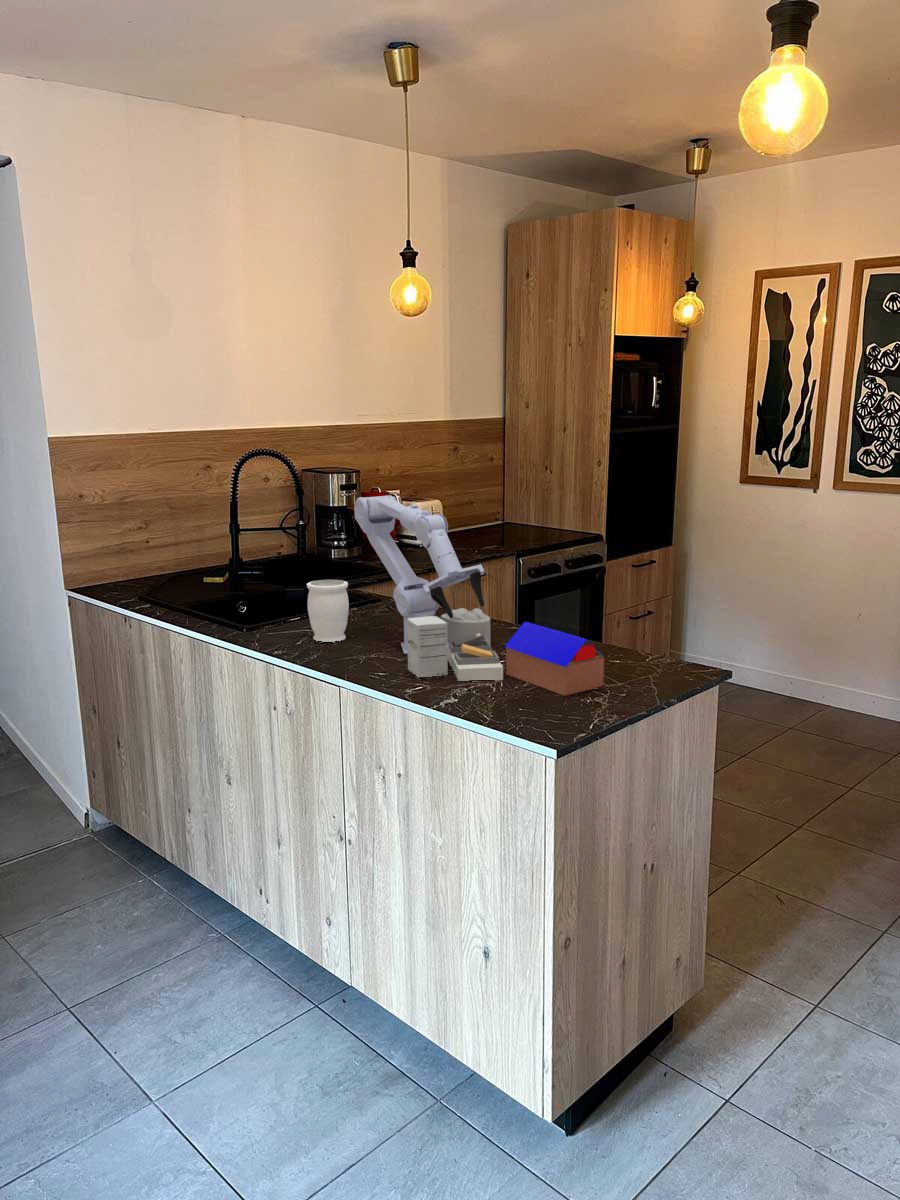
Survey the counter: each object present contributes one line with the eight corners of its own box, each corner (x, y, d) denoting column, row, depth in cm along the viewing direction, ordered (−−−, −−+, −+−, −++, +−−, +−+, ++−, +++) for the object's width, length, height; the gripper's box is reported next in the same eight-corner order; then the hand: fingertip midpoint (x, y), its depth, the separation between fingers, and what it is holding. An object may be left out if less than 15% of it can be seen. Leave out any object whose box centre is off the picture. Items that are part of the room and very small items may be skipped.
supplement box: (407, 671, 211) (406, 617, 208) (437, 667, 214) (436, 614, 211) (417, 680, 204) (416, 624, 202) (448, 676, 207) (448, 621, 204)
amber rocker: (460, 647, 209) (462, 643, 209) (489, 655, 210) (490, 651, 210) (463, 651, 206) (464, 647, 205) (492, 659, 207) (493, 655, 207)
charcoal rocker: (454, 645, 219) (453, 641, 219) (482, 635, 220) (480, 631, 219) (456, 649, 216) (455, 645, 215) (484, 639, 216) (483, 635, 216)
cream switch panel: (445, 655, 224) (445, 638, 223) (486, 653, 225) (486, 636, 224) (458, 682, 202) (458, 663, 202) (503, 680, 204) (503, 661, 203)
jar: (302, 643, 236) (300, 585, 233) (317, 633, 246) (315, 578, 242) (341, 645, 233) (339, 587, 230) (355, 635, 243) (353, 579, 240)
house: (543, 666, 215) (544, 617, 213) (605, 686, 199) (607, 634, 197) (504, 675, 208) (504, 625, 206) (564, 697, 192) (566, 643, 190)
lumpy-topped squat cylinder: (464, 635, 242) (464, 603, 241) (500, 644, 233) (500, 611, 231) (435, 643, 235) (435, 610, 234) (471, 652, 226) (471, 618, 224)
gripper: (415, 563, 210) (437, 615, 205) (474, 542, 212) (497, 593, 207) (416, 575, 216) (437, 626, 212) (473, 554, 218) (495, 604, 214)
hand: (467, 610), depth 210 cm, fingers open, 7 cm apart
